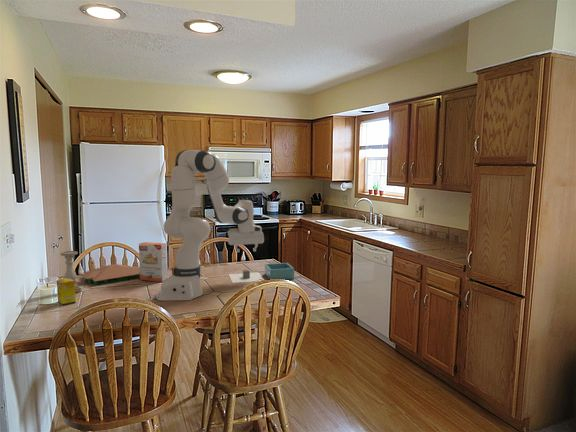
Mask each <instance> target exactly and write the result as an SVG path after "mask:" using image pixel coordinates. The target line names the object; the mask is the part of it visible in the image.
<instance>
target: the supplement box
mask: <svg viewBox="0 0 576 432" xmlns="http://www.w3.org/2000/svg"><path fill="white" fill-rule="evenodd" d="M75 286H76V284H75V285H74V280H72V279H71V278H66V279H65V278H62V279H61V278H59V279H57V280H56V288H57V289H56V290H57V303H58V304H60V306H61V307H62V306H68V305H72V304H76V293H75Z"/></svg>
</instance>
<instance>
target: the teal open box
mask: <svg viewBox="0 0 576 432" xmlns="http://www.w3.org/2000/svg"><path fill="white" fill-rule="evenodd" d="M264 274H265V276H266V277H267V279H268V280H269V279H283V280H292V279H295V268H294V267H293V266H292V265H291V264H290V263H289V262H278V263H277V262H275V263H266V264H264Z"/></svg>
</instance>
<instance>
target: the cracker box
mask: <svg viewBox="0 0 576 432" xmlns="http://www.w3.org/2000/svg"><path fill="white" fill-rule="evenodd" d="M167 252H168V251H167V243H165V242H151V241H150V242H148V241H143V242H140V243H138V256H139V257H138V258H139V259H138V260H139V261H138V262H139V267H140V274H139V280H141V281H150V282H162V283H163V282H164V281H165V280H166V279H168V257H167V254H168V253H167Z"/></svg>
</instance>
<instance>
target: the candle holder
mask: <svg viewBox="0 0 576 432" xmlns="http://www.w3.org/2000/svg"><path fill="white" fill-rule="evenodd" d="M78 253H79V252H78V251H76V250H67V251H62V252H60V256H63V257H64V259H66V260H65V262H64V263H65V264H66V271H65V274H64V275H63V276H64V278H63V279H66V278H71V279H72V280H74V285H75V294H77V293H80V292H81V291H82V288H80V287H79V286H78V285H76V282H77V280H76V279H77V273H76V271H75V269H74V263H75V262H74V258H75V256H76V255H78Z"/></svg>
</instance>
